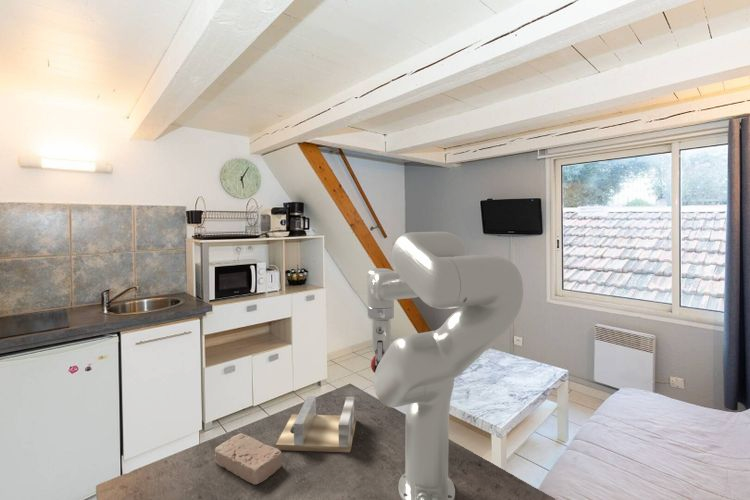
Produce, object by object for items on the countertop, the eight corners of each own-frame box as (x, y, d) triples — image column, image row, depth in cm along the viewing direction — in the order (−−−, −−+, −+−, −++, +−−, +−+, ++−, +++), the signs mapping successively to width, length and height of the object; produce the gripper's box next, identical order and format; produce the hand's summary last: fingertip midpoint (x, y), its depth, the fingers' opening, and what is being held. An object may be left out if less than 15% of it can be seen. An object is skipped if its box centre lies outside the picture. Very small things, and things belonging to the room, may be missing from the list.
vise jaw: (303, 445, 94) (302, 423, 93) (288, 444, 94) (288, 423, 93) (316, 414, 109) (315, 396, 108) (303, 414, 109) (303, 395, 108)
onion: (394, 375, 102) (394, 348, 102) (384, 383, 98) (384, 355, 97) (377, 371, 105) (377, 345, 105) (367, 378, 101) (366, 351, 100)
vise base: (350, 452, 93) (349, 425, 92) (275, 449, 94) (275, 423, 94) (356, 420, 108) (356, 397, 107) (292, 418, 109) (291, 395, 109)
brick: (212, 463, 89) (212, 446, 89) (240, 445, 96) (240, 429, 96) (256, 490, 81) (256, 470, 80) (284, 468, 88) (283, 450, 87)
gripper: (393, 320, 91) (393, 387, 93) (394, 305, 108) (394, 362, 110) (364, 320, 92) (365, 387, 93) (370, 305, 109) (370, 361, 110)
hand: (381, 372), depth 101 cm, fingers closed on onion, 5 cm apart
